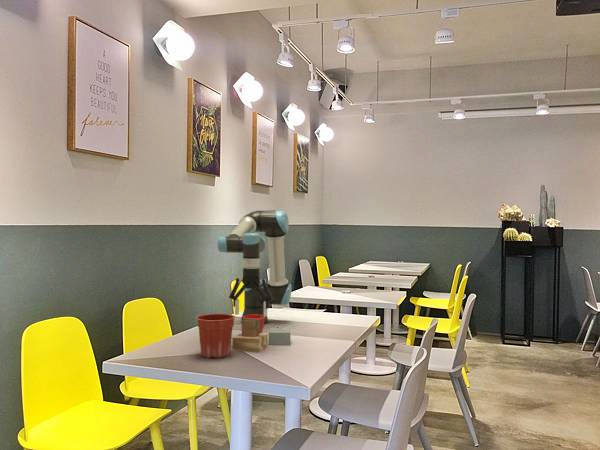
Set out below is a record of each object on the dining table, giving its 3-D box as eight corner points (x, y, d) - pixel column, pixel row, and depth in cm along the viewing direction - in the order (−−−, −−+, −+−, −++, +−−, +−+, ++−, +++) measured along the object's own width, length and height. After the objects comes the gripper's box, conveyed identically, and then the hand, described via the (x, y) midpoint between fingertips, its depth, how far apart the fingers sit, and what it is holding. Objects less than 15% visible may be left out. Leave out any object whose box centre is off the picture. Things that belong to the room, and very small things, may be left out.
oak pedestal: (242, 345, 233) (242, 332, 233) (267, 346, 230) (267, 333, 230) (232, 351, 221) (232, 337, 221) (258, 353, 218) (258, 339, 218)
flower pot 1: (200, 349, 222) (201, 313, 222) (237, 350, 222) (238, 313, 222) (191, 359, 206) (191, 320, 206) (231, 360, 205) (231, 320, 205)
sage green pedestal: (269, 340, 241) (269, 328, 241) (289, 340, 242) (290, 328, 242) (268, 345, 231) (268, 332, 231) (290, 345, 232) (290, 332, 232)
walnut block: (247, 333, 229) (247, 318, 230) (259, 334, 228) (259, 319, 228) (241, 336, 224) (241, 320, 224) (254, 337, 222) (254, 321, 222)
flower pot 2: (261, 338, 245) (261, 318, 245) (240, 337, 248) (240, 317, 248) (267, 333, 256) (267, 314, 256) (246, 332, 258) (246, 313, 258)
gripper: (222, 267, 225) (221, 315, 226) (275, 269, 219) (274, 318, 219) (228, 266, 233) (228, 312, 233) (280, 267, 226) (280, 315, 226)
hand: (251, 315), depth 226 cm, fingers open, 13 cm apart
